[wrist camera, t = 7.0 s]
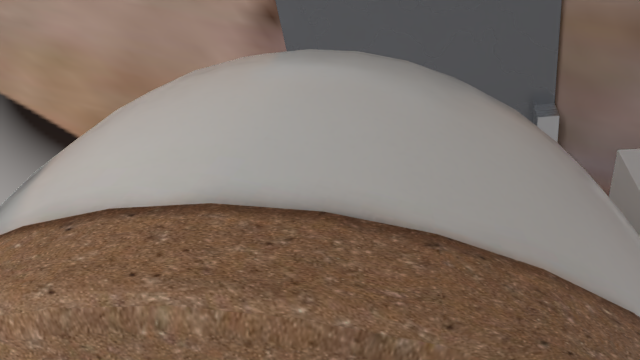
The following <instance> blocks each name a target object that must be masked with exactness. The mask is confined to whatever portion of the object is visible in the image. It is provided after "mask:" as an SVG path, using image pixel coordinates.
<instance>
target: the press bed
mask: <svg viewBox="0 0 640 360" xmlns="http://www.w3.org/2000/svg"><path fill="white" fill-rule="evenodd" d="M561 2H562V0H276V4H277V9H278V13H279V18H280V22H281V27H282V31H283V36H284V40H285V45H286V49H287V51H296V50H306V49H318V50H340V51H359V52H365V53H370V54H375V55H380V56H385V57H390V58H396V59H401V60H406V61H409V62H412V63H415V64H418V65H421V66H424V67H426V68H429V69H432V70H435V71H438V72H440V73H443V74H446V75H449V76H452V77H454V78H456V79H459V80H461V81H463V82H465V83H467V84H469V85H471V86H473V87H475V88H476V89H478V90H480V91H482V92H484V93H486V94H487V95H489V96H491V97H493V98H495V99H497V100H499V101H500V102H502V103H504V104H506V105H508V106H510V107H512V108H513V109H515V110H517V111H518V112H519V113H521V114H522V115H523V116H524V117H526V118H527V119H528V120H530V121H531V122H532V123H533V124H535V125H536V126H537V127H539V128H540V129H541V130H542V131H544V132H545V133H546V134H547V135H549V136H550V137H551V138H553V139H554V140H555V141H556V142H557V141H558V128H559V113H558V111H557V109H556V106H555V104H554V103H555V89H556V74H557V60H558V45H559V31H560V17H561Z"/></svg>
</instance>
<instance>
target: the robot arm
mask: <svg viewBox="0 0 640 360" xmlns="http://www.w3.org/2000/svg"><path fill="white" fill-rule="evenodd" d="M609 198H610V199H611V200H612V201H613V202H614V204H615V205H616V206H617V207H618V208H619V209H620V211H621V212H622V213H623V215H624V216H625V217H626V219H627V220H628V222H629V223H630V224H631V226H632V227H633V228H634V230H635V231H636V232H637V234H638V235H639V236H640V149H626V150H617V156H616V161H615V166H614V171H613V177H612V182H611V187H610V193H609Z"/></svg>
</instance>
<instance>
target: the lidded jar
mask: <svg viewBox="0 0 640 360" xmlns="http://www.w3.org/2000/svg"><path fill="white" fill-rule="evenodd" d="M0 360H640V236H639V235H638V234H637V232H636V231H635V230H634V228H633V227H632V226H631V224H630V223H629V222H628V220H627V219H626V217H625V216H624V215H623V213H622V212H621V211H620V209H619V208H618V207H617V206H616V205H615V204H614V202H613V201H612V200H611V199H610V198H609V197H608V196H607V194H606V193H605V192H604V191H603V190H602V189H601V188H600V186H599V185H598V184H597V183H596V182H595V181H594V180H593V178H592V177H591V176H590V175H589V174H588V173H587V172H586V171H585V169H584V168H583V167H582V166H581V165H579V164H578V163H577V162H576V161H575V160H574V159H573V158H572V157H571V156H570V155H569V154H568V153H567V152H566V151H565V150H564V149H563V148H562V147H561V146H560V145H559V144H558V143H557V142H556V141H555V140H554V139H553V138H551V137H550V136H549V135H547V134H546V133H545V132H544V131H542V130H541V129H540V128H539V127H537V126H536V125H535V124H533V123H532V122H531V121H530V120H528V119H527V118H526V117H524V116H523V115H522V114H521V113H519V112H518V111H517V110H515V109H513V108H512V107H510V106H508V105H506V104H504V103H502V102H500V101H499V100H497V99H495V98H493V97H491V96H489V95H487V94H486V93H484V92H482V91H480V90H478V89H476V88H475V87H473V86H471V85H469V84H467V83H465V82H463V81H461V80H459V79H456V78H454V77H452V76H449V75H446V74H443V73H440V72H438V71H435V70H432V69H429V68H426V67H424V66H421V65H418V64H415V63H412V62H409V61H406V60H401V59H396V58H390V57H385V56H380V55H375V54H370V53H365V52H359V51H340V50H318V49H306V50H296V51H287V52H278V53H268V54H260V55H254V56H248V57H243V58H239V59H235V60H232V61H228V62H224V63H221V64H217V65H213V66H210V67H206V68H202V69H199V70H195V71H193V72H191V73H188V74H186V75H184V76H182V77H180V78H178V79H176V80H174V81H171V82H169V83H167V84H165V85H163V86H161V87H159V88H156V89H154V90H152V91H150V92H149V93H147V94H145V95H143V96H141V97H139V98H138V99H136V100H134V101H132V102H130V103H128V104H127V105H125V106H123V107H121V108H119V109H118V110H116V111H115V112H113V113H112V114H111V115H109V116H108V117H106V118H105V119H104V120H102V121H101V122H100V123H98V124H97V125H96V126H94V127H93V128H91V129H90V130H89V131H87V132H86V133H85V134H83V135H82V136H81V137H79V138H78V139H77V140H75V141H74V142H73V143H71V144H70V145H69V146H68V147H66V148H65V149H64V150H62V151H61V152H60V153H59V154H57V155H56V156H55V157H53V158H52V159H51V160H50V161H48V162H47V163H46V164H44V165H43V166H42V167H40V168H39V169H38V170H37V171H36V172H34V173H33V174H32V175H31V176H30V177H29V178H28V179H27V180H26V181H25V182H24V183H23V184H22V185H21V186H20V187H19V188H18V189H17V190H16V191H15V192H14V193H13V194H12V195H11V196H9V197H8V198H7V199H6V200H5V201H4V202H3V203H2V204H1V205H0Z"/></svg>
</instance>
